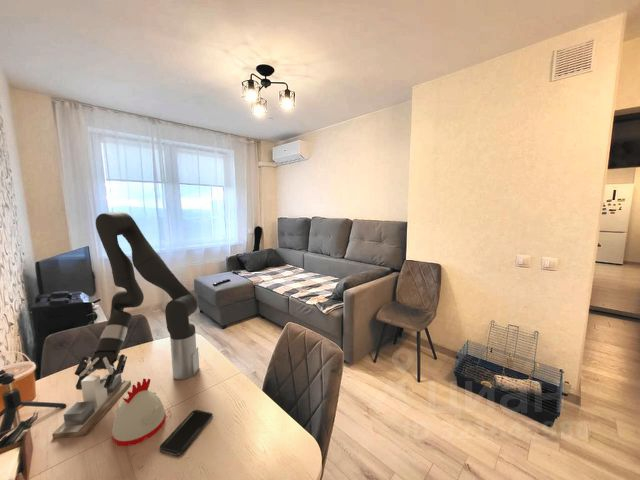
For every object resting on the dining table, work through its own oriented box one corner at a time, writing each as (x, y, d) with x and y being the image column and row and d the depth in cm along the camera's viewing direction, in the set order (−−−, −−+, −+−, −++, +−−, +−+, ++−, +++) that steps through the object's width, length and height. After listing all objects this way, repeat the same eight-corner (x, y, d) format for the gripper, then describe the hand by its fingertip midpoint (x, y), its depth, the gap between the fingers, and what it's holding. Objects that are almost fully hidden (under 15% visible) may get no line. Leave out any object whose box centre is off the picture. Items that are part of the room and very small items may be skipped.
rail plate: (130, 383, 102) (129, 369, 101) (85, 435, 79) (83, 417, 78) (106, 385, 100) (104, 370, 100) (52, 438, 78) (50, 419, 77)
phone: (157, 448, 74) (194, 409, 89) (157, 452, 74) (194, 412, 89) (180, 455, 72) (214, 413, 87) (180, 458, 73) (214, 416, 87)
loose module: (107, 396, 92) (104, 370, 91) (97, 407, 87) (94, 380, 86) (95, 397, 92) (92, 371, 90) (84, 408, 87) (80, 381, 85)
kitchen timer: (175, 416, 87) (172, 375, 85) (133, 452, 74) (129, 405, 72) (145, 404, 91) (142, 365, 89) (101, 437, 79) (96, 392, 77)
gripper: (85, 337, 94) (61, 388, 84) (127, 335, 95) (109, 385, 86) (97, 343, 100) (76, 391, 90) (137, 341, 101) (121, 388, 92)
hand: (92, 388), depth 88 cm, fingers open, 8 cm apart
